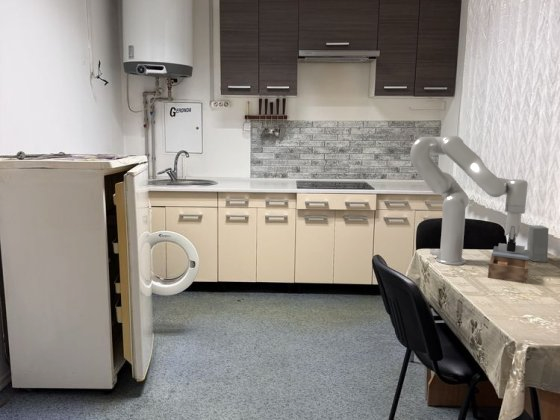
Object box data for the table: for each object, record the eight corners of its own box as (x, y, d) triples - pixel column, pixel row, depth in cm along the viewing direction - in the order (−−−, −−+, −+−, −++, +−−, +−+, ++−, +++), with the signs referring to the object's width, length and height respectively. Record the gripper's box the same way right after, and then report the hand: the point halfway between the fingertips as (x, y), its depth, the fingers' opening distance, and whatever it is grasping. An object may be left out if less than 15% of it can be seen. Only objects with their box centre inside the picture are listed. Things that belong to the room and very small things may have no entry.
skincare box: (547, 262, 205) (551, 228, 203) (530, 261, 207) (533, 227, 204) (540, 257, 213) (544, 224, 211) (524, 256, 215) (527, 224, 212)
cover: (491, 255, 193) (492, 246, 192) (494, 248, 205) (495, 239, 204) (528, 260, 186) (529, 250, 185) (529, 252, 198) (530, 243, 197)
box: (487, 277, 183) (489, 263, 182) (490, 268, 195) (491, 255, 194) (526, 283, 176) (528, 268, 175) (527, 274, 188) (528, 260, 187)
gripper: (506, 205, 198) (502, 246, 201) (504, 210, 185) (499, 253, 188) (525, 207, 194) (521, 248, 197) (524, 212, 181) (520, 256, 185)
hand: (510, 251), depth 193 cm, fingers closed
